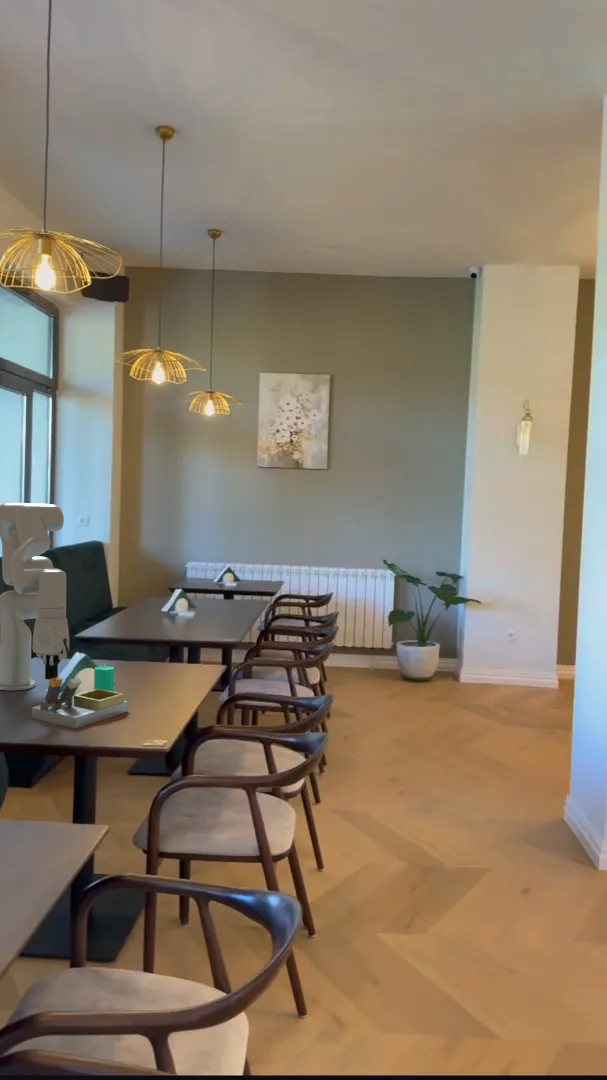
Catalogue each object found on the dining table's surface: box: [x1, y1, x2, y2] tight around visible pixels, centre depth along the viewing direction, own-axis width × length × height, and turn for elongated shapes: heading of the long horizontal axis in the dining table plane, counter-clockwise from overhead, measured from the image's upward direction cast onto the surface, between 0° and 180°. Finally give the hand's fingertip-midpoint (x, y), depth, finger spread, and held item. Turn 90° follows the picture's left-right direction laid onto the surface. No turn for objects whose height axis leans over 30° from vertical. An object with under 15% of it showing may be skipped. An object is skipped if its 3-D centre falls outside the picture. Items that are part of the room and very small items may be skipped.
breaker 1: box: [44, 675, 64, 708], centre depth 215 cm, size 2×3×9 cm, turn 151°
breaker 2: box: [59, 677, 82, 704], centre depth 219 cm, size 2×3×9 cm
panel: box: [31, 689, 129, 730], centre depth 221 cm, size 17×21×6 cm
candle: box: [93, 662, 115, 692], centre depth 236 cm, size 6×6×12 cm
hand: (51, 678), depth 215 cm, fingers closed
